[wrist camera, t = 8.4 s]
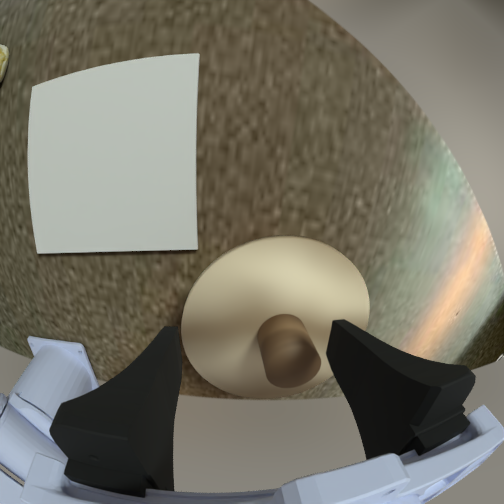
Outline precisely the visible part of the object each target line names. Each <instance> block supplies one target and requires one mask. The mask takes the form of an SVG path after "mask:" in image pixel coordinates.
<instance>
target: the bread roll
mask: <svg viewBox="0 0 504 504" xmlns="http://www.w3.org/2000/svg"><path fill="white" fill-rule="evenodd" d="M8 61H9V51H8V48H7V47H6V46H3V45H0V82H1V81H2V80H3V78H4V75H5V72H6V69H7V66H8Z"/></svg>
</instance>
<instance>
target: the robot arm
mask: <svg viewBox="0 0 504 504" xmlns="http://www.w3.org/2000/svg"><path fill="white" fill-rule="evenodd" d="M28 343H29V345H30V347H31V350H32V352H33V354H34V358H33V359H32V361H31V362H30V363H29V365H28V366H27V368H26V369H25V371H24V372H23V374H22V375H21V377H20V378H19V380H18V381H17V383H16V384H15V386H14V388H13V389H12V390H11V392H10V394H9V395H8V396H7V397H6V396H5V395H4V394H3V393H0V464H1V465H2V466H4V467H5V468H6V469H8V470H9V471H10V472H12V473H13V474H14V475H16V476H17V477H18V478H20V479H21V480H22V481H24V482H25V483H24V486H23V485H22V484H20V483H19V482H18V481H16V480H15V479H13V478H12V477H11V476H9V475H8V474H7V473H5V472H4V471H3V470H2V469H0V504H424V503H426V502H427V501H429V500H431V499H432V498H434V497H436V496H437V495H439V494H440V493H442V492H444V491H445V490H447V489H448V488H450V487H451V486H453V485H454V484H455V483H457V482H458V481H460V480H461V479H462V478H464V477H465V476H467V475H468V474H469V473H471V472H472V471H473V470H475V469H476V468H477V467H478V466H480V465H481V464H482V463H483V462H484V461H485V460H486V459H487V458H488V457H489V456H490V455H491V454H492V453H493V452H494V451H495V450H496V449H497V447H498V446H499V445H500V444H501V443H502V442H503V441H504V428H503V426H502V425H501V424H500V423H499V421H498V420H497V419H496V418H495V417H494V416H493V414H492V413H491V412H490V411H489V410H488V409H487V407H486V406H485V405H482V406H480V407H479V408H477V409H476V410H474V411H472V412H471V413H470V414H468V415H467V417H466V416H465V415H464V414H463V412H464V411H465V408H464V407H463V406H462V404H463V403H464V401H465V400H466V398H467V396H468V395H469V393H470V392H471V390H472V388H473V386H474V383H475V375H474V374H473V373H472V371H471V370H470V369H469V368H468V367H467V366H464V365H453V364H445V363H440V362H435V361H431V360H427V359H423V358H420V357H417V356H414V355H411V354H408V353H406V352H403V351H401V350H399V349H396V348H394V347H392V346H390V345H388V344H386V343H385V342H383V341H381V340H379V339H377V338H376V337H374V336H372V335H370V334H369V333H367V332H365V331H364V330H362V329H361V328H359V327H357V326H356V325H354V324H352V323H351V322H349V321H347V320H345V319H340V320H333V321H332V326H331V331H330V336H329V341H328V345H327V350H326V356H327V359H328V362H329V365H330V368H331V370H332V372H333V374H334V376H335V378H336V380H337V382H338V384H339V386H340V388H341V390H342V391H343V393H344V395H345V397H346V399H347V401H348V403H349V405H350V407H351V409H352V412H353V415H354V418H355V420H356V423H357V426H358V429H359V432H360V436H361V439H362V443H363V447H364V450H365V454H366V459H367V460H365V461H362V462H359V463H355V464H352V465H348V466H345V467H341V468H337V469H333V470H329V471H325V472H320V473H316V474H311V475H308V476H304V477H301V478H297V479H294V480H292V481H290V482H288V483H285V484H283V485H282V486H281V487H280V488H277V489H269V490H259V491H248V492H231V493H194V492H175V491H174V478H173V432H174V419H175V412H176V406H177V401H178V396H179V390H180V384H181V377H182V355H181V348H180V341H179V333H178V327H164V328H163V329H162V330H161V331H160V332H159V333H158V335H157V336H156V337H155V338H154V340H153V341H152V342H151V343H150V344H149V345H148V347H147V348H146V349H145V350H144V351H143V352H142V353H141V354H140V355H139V356H138V357H137V358H136V359H135V360H134V361H133V362H132V363H131V364H130V365H129V366H128V367H127V368H126V369H124V370H123V371H122V372H121V373H119V374H118V375H117V376H115V377H114V378H112V379H111V380H109V381H108V382H106V383H105V384H103V385H101V386H99V384H98V381H97V379H96V376H95V374H94V372H93V369H92V367H91V364H90V362H89V359H88V356H87V354H86V351H85V348H84V346H83V345H82V344H81V343H75V342H66V341H58V340H51V339H44V338H38V337H32V336H29V337H28Z"/></svg>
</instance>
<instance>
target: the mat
mask: <svg viewBox="0 0 504 504" xmlns="http://www.w3.org/2000/svg"><path fill="white" fill-rule="evenodd" d="M199 58H200V55H199V53H198V54H180V55H168V56H159V57H150V58H143V59H136V60H130V61H124V62H119V63H113V64H109V65H104V66H99V67H95V68H91V69H87V70H83V71H79V72H76V73H72V74H69V75H65V76H62V77H59V78H56V79H53V80H50V81H47V82H44V83H41V84H39V85H36V86H33V87H32V95H31V104H30V114H29V129H28V179H29V195H30V206H31V215H32V223H33V230H34V236H35V242H36V248H37V253H38V254H39V253H75V252H113V251H154V250H198V235H197V200H196V130H197V96H198V75H199Z"/></svg>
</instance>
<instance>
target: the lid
mask: <svg viewBox="0 0 504 504" xmlns="http://www.w3.org/2000/svg"><path fill="white" fill-rule="evenodd" d="M369 311H370V307H369V296H368V291H367V288H366V285H365V282H364V280H363V278H362V276H361V274H360V272H359V271H358V270H357V268H356V267H355V266H354V265H353V263H352V262H351V261H349V260H348V259H347V258H346V257H345V256H344V255H343V254H341V253H340V252H339V251H337V250H336V249H334V248H333V247H331V246H329V245H327V244H325V243H323V242H321V241H318V240H315V239H312V238H308V237H303V236H295V235H276V236H269V237H263V238H259V239H255V240H252V241H249V242H246V243H244V244H241V245H239V246H237V247H235V248H233V249H231V250H229V251H228V252H226V253H224V254H223V255H221V256H220V257H219V258H218V259H216V260H215V261H214V262H212V263H211V264H210V265H209V266H208V267H207V268H206V269H205V270H204V271H203V272H202V274H201V275H200V276H199V278H198V279H197V280H196V282H195V283H194V285H193V287H192V289H191V290H190V292H189V294H188V297H187V300H186V303H185V306H184V311H183V316H182V322H181V335H182V343H183V346H184V349H185V353H186V355H187V357H188V359H189V361H190V363H191V364H192V365H193V367H194V368H195V370H196V371H197V372H198V373H199V374H200V375H201V376H202V377H203V378H204V379H206V380H207V381H208V382H209V383H211V384H212V385H214V386H216V387H217V388H219V389H221V390H223V391H226V392H228V393H231V394H234V395H237V396H241V397H246V398H255V399H273V398H281V397H286V396H291V395H294V394H298V393H301V392H303V391H306V390H308V389H311V388H313V387H315V386H317V385H319V384H320V383H322V382H324V381H325V380H327V379H328V378H330V377H331V376H332V375H334V374H333V372H332V370H331V368H330V365H329V362H328V359H327V356H326V350H327V345H328V341H329V336H330V331H331V326H332V321H333V320H340V319H345V320H347V321H349V322H351V323H352V324H354V325H356V326H357V327H359V328H361V329H362V330H364V331H366V328H367V324H368V320H369Z"/></svg>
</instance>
